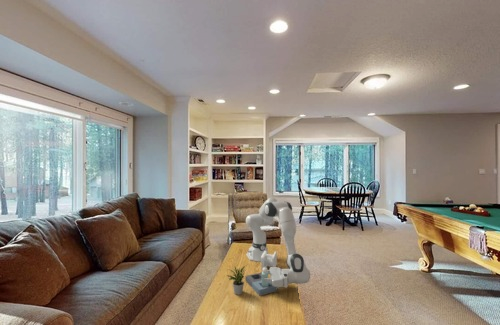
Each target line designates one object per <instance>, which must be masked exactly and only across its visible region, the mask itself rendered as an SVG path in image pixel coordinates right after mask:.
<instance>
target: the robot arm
mask: <svg viewBox="0 0 500 325" xmlns="http://www.w3.org/2000/svg"><path fill="white" fill-rule="evenodd" d="M292 206H293V205H292V204H291V202H289V201H278V200H277V199H276V198H275V197H268V198H267V199H266V200H265V201H264V203H262V204H261V207H260V208H259V210H258V213H251V214H248V215H247V216H246V218H245V225H247V226H246V227H248V228H250V229H251V231H252V238H253V239H252V243H251V245H250V247H249V248H248V250H247V253H246V254H245V255H246V256H247V258H248V260H249V261H254V262H261V256H262V254H263V252H264V251H267V254H269V250H268V247H267V244H268V243H267V233H266V232H265V231H264V230H262V229H261V227H266V226H270V225H272V224H273V222H274V218H275V217H276V218H278V220H279V225H280V230H281V233H282V236H283V238H284V239H283V240H284V243H285V249H286V253H287V256H286V266H287V268H281V267H277V266H276V267H269V269H267V272H268V275H269V277H268V278H264V281H265V282H269V283H272V286H274V287H277V288H283V287H284V288H288V287H289V285H290V284H297V285H301V284H307V283H308V282H309V281H310V279H311V272H310V270H309V269H308V267H307V265H306V263H305V260H304V257H303V256H302V255H301V254H299V253H297V249H296V246H295V236H296V233H297V225H296V219H295V216H294V213H293V207H292Z"/></svg>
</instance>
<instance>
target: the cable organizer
mask: <svg viewBox="0 0 500 325" xmlns="http://www.w3.org/2000/svg"><path fill="white" fill-rule="evenodd" d="M277 252H278V251H275V250H274V253H273V254H270V253H268V254H267V251H264V252H263V254H262V256H261V261H260V270H262V271H263V268H264V267H266V268H267V269H268V267H269V268H270V267H277V264H278V263H277V262H278V253H277Z"/></svg>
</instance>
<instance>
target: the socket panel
mask: <svg viewBox="0 0 500 325" xmlns="http://www.w3.org/2000/svg"><path fill="white" fill-rule="evenodd" d="M262 272H263V271H261V272H256V273H252V274H248V275H244V280H245V282H246V283H247V284H248V285H249V287H251V288H252V290H253V291H254V292H255V293H256V294H257V295H258V296H263V295H268V294H270V293H271V294H272V293H275V292H278V287H274V286H272V283H269V282H268V287H264V288H263V287H262Z"/></svg>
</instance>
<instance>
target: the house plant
mask: <svg viewBox="0 0 500 325" xmlns="http://www.w3.org/2000/svg"><path fill="white" fill-rule="evenodd" d="M233 267H234V271H233V270H232V269H229V268H227V270H228V271H230V273H231V275H229V274H228V275H226V277H228V281H232V280H233V282H232V286H233V292H234V295H237V296H240V295H242V294H243V290H244V281H243V280H245V272H246V270H247V269H246V268H245V267H246V265H243V267H241V268H240V267H239V268H238V267H236V266H235V265H233ZM245 269H246V270H245Z"/></svg>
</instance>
